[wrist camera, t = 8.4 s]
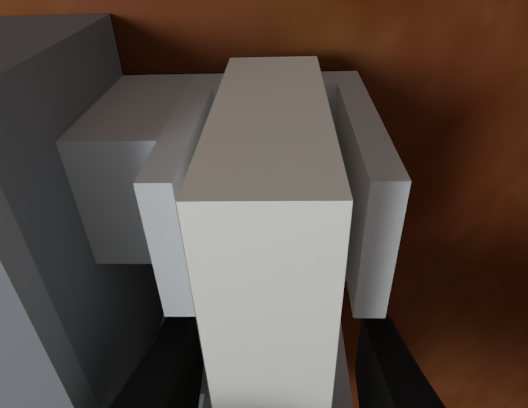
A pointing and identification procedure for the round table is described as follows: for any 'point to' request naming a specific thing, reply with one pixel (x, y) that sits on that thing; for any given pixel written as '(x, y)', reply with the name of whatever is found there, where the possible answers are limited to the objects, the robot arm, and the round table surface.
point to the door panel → (268, 236)
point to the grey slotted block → (134, 209)
